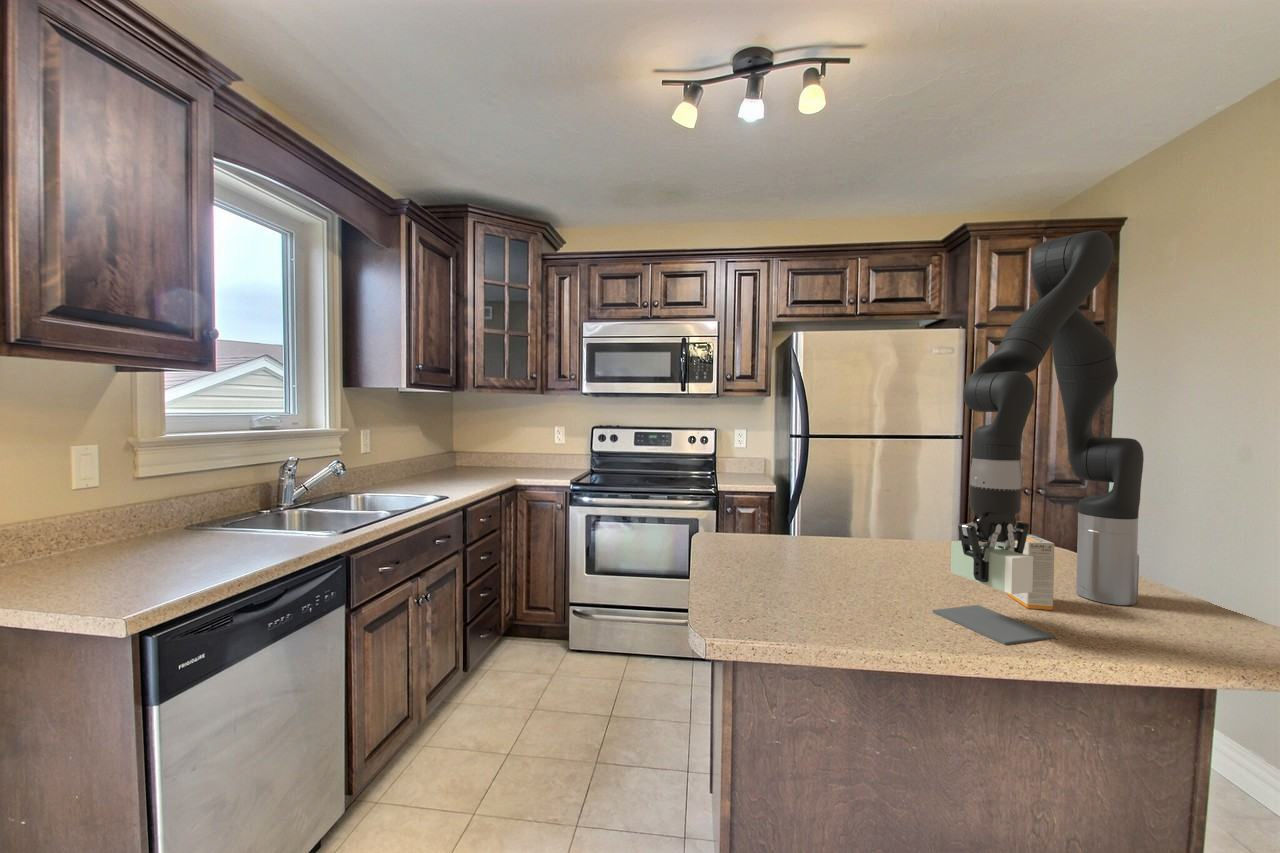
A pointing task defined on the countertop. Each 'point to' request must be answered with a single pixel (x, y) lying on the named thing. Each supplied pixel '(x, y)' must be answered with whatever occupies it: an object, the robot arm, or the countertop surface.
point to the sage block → (997, 568)
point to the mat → (993, 624)
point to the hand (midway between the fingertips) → (992, 579)
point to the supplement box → (1039, 574)
